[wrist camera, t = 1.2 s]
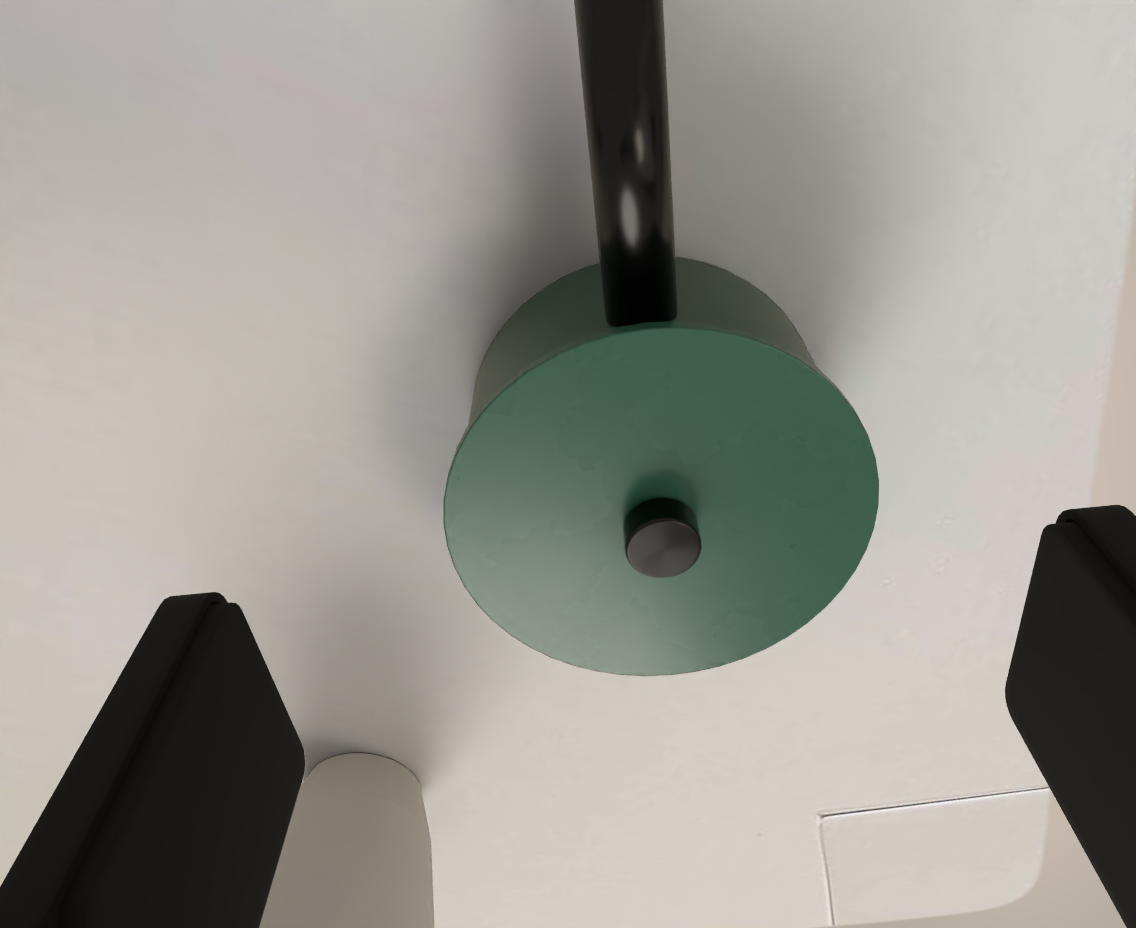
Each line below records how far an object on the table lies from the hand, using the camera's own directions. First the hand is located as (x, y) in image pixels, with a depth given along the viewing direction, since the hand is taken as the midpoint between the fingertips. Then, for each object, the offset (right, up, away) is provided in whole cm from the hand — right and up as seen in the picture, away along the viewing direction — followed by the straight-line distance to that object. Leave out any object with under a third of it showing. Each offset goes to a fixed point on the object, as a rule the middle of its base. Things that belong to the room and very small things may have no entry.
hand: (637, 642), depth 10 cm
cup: (-10, -12, +28) cm, 32 cm away
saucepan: (+1, +7, +15) cm, 17 cm away
